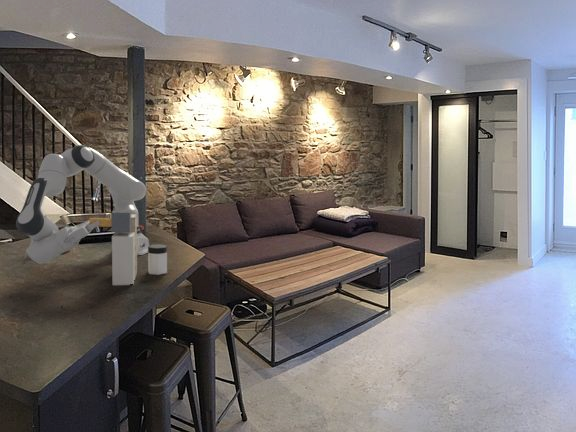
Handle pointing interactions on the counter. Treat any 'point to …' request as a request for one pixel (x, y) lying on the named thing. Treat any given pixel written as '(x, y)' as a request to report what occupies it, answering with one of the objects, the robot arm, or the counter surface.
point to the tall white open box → (123, 258)
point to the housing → (116, 221)
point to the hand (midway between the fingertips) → (100, 221)
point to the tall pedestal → (134, 229)
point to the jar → (157, 259)
